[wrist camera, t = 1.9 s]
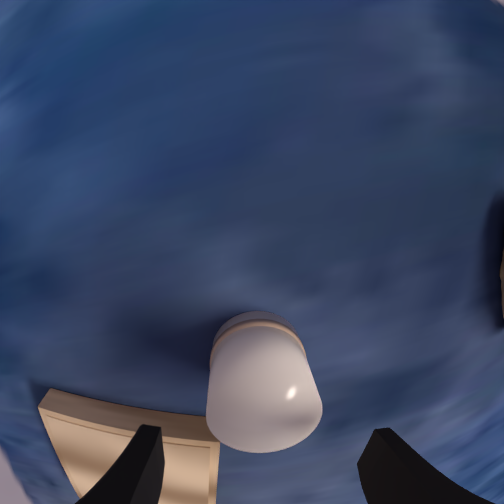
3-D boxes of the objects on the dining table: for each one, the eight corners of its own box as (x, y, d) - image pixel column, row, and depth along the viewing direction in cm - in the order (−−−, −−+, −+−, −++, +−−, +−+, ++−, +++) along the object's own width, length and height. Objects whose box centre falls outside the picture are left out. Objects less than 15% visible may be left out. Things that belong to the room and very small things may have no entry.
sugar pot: (292, 385, 17) (309, 452, 12) (209, 380, 16) (203, 450, 11) (308, 313, 15) (336, 373, 11) (214, 306, 15) (206, 368, 10)
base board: (214, 503, 20) (214, 523, 18) (85, 481, 19) (78, 498, 17) (220, 417, 17) (220, 443, 15) (50, 387, 16) (36, 407, 14)
